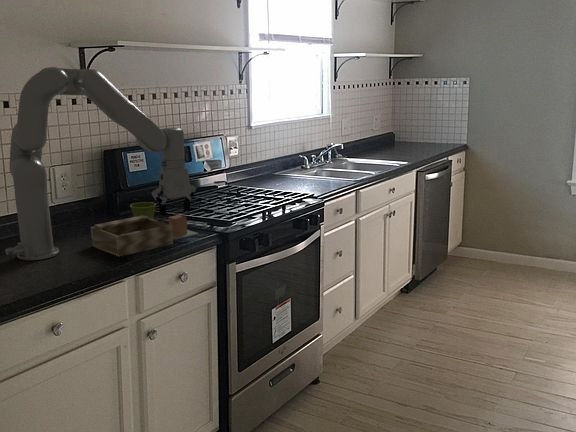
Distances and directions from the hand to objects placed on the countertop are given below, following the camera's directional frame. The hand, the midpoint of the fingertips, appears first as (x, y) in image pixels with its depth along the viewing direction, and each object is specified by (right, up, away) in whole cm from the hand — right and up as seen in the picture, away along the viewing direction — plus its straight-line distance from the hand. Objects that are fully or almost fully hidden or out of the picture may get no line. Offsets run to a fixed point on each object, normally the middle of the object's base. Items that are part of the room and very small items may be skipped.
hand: (175, 213), depth 227 cm
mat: (+1, -8, +2) cm, 8 cm away
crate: (-12, -11, -10) cm, 19 cm away
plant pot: (-13, -5, +13) cm, 20 cm away
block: (+1, -7, +2) cm, 7 cm away
